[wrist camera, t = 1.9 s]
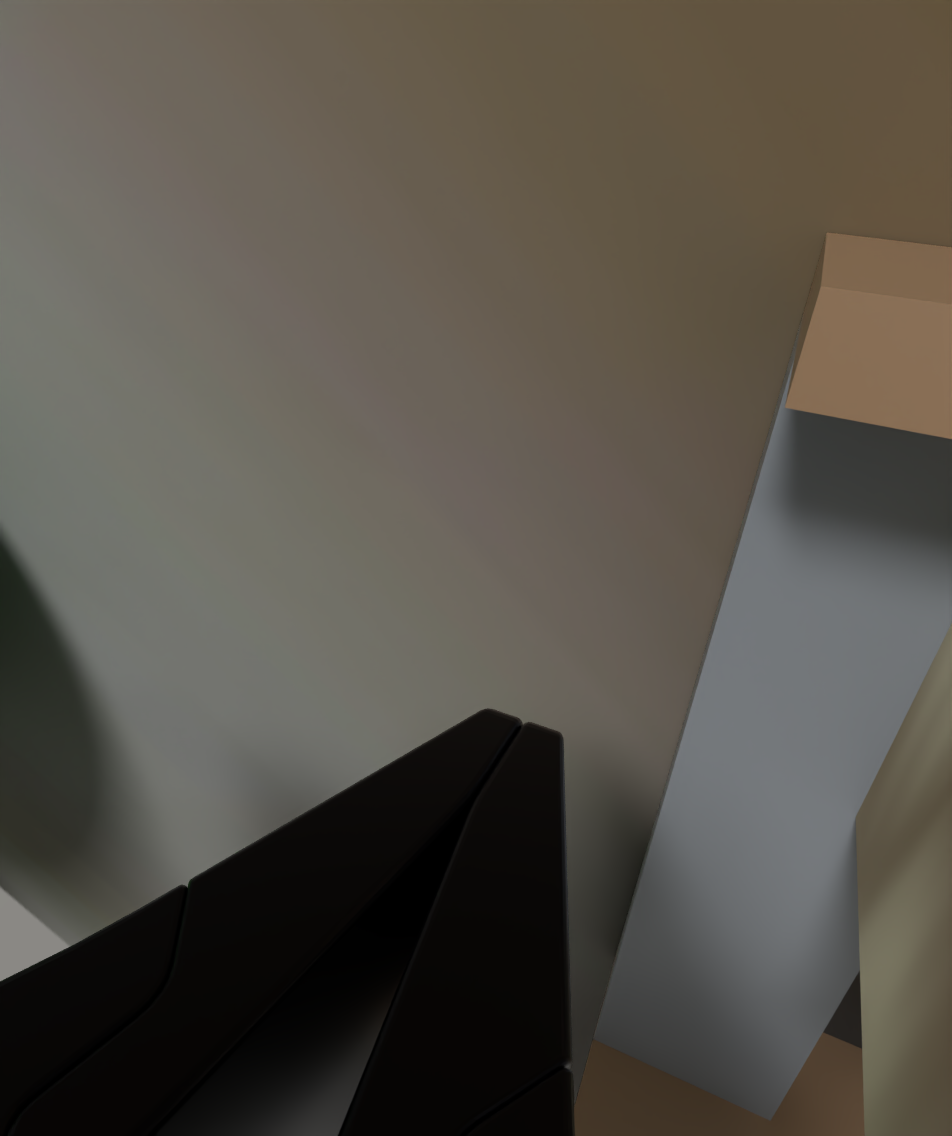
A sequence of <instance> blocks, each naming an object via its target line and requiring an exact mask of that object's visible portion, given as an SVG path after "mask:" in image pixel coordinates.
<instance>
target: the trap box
mask: <svg viewBox="0 0 952 1136" xmlns="http://www.w3.org/2000/svg"><path fill="white" fill-rule="evenodd" d="M951 624H952V247H944V246H936V245H928V244H919V243H911V242H903V241H894V240H886V239H878V238H869V237H861V236H853V235H844V234H836V233H828V232H827V234H826V237H825V241H824V244H823V248H822V251H821V254H820V258H819V261H818V265H817V268H816V271H815V275H814V278H813V282H812V285H811V289H810V292H809V295H808V299H807V302H806V306H805V309H804V313H803V316H802V319H801V323H800V326H799V330H798V333H797V336H796V340H795V343H794V347H793V350H792V354H791V357H790V360H789V364H788V367H787V371H786V374H785V378H784V381H783V384H782V388H781V391H780V395H779V398H778V401H777V405H776V408H775V412H774V415H773V419H772V422H771V425H770V429H769V432H768V436H767V439H766V443H765V446H764V449H763V453H762V456H761V460H760V463H759V467H758V470H757V473H756V477H755V480H754V484H753V487H752V490H751V494H750V497H749V501H748V504H747V508H746V511H745V514H744V518H743V521H742V525H741V528H740V532H739V535H738V538H737V542H736V545H735V549H734V552H733V555H732V559H731V562H730V566H729V569H728V573H727V576H726V579H725V583H724V586H723V590H722V593H721V597H720V600H719V603H718V607H717V610H716V614H715V617H714V620H713V624H712V627H711V631H710V634H709V638H708V641H707V644H706V648H705V651H704V655H703V658H702V662H701V665H700V668H699V672H698V675H697V679H696V682H695V685H694V689H693V692H692V696H691V699H690V703H689V706H688V709H687V713H686V716H685V720H684V723H683V727H682V730H681V733H680V737H679V740H678V744H677V747H676V750H675V754H674V757H673V761H672V764H671V768H670V771H669V774H668V778H667V781H666V785H665V788H664V792H663V795H662V798H661V802H660V805H659V809H658V812H657V816H656V819H655V822H654V826H653V829H652V833H651V836H650V839H649V843H648V846H647V850H646V853H645V857H644V860H643V863H642V867H641V870H640V874H639V877H638V881H637V884H636V887H635V891H634V894H633V898H632V901H631V904H630V908H629V911H628V915H627V918H626V922H625V925H624V928H623V932H622V935H621V939H620V942H619V946H618V949H617V952H616V956H615V959H614V963H613V966H612V970H611V974H610V977H609V981H608V985H607V988H606V992H605V996H604V999H603V1003H602V1007H601V1010H600V1014H599V1018H598V1022H597V1025H596V1029H595V1033H594V1036H593V1040H592V1044H591V1047H590V1051H589V1055H588V1058H587V1062H586V1066H585V1069H584V1073H583V1077H582V1080H581V1084H580V1088H579V1091H578V1095H577V1099H576V1102H575V1106H574V1120H575V1136H865V1130H864V1094H863V1059H862V1024H861V988H860V953H859V918H858V882H857V847H856V815H857V813H858V811H859V809H860V807H861V805H862V803H863V801H864V799H865V797H866V795H867V793H868V791H869V789H870V787H871V785H872V783H873V781H874V779H875V777H876V775H877V773H878V771H879V769H880V767H881V765H882V763H883V761H884V759H885V757H886V755H887V753H888V751H889V749H890V747H891V745H892V743H893V741H894V739H895V737H896V735H897V733H898V731H899V729H900V727H901V725H902V723H903V720H904V718H905V716H906V714H907V712H908V710H909V708H910V706H911V704H912V702H913V700H914V698H915V696H916V694H917V692H918V690H919V688H920V686H921V684H922V682H923V680H924V678H925V676H926V674H927V672H928V670H929V668H930V666H931V664H932V662H933V660H934V658H935V656H936V654H937V652H938V650H939V648H940V646H941V644H942V642H943V640H944V638H945V636H946V634H947V632H948V630H949V628H950V626H951Z"/></svg>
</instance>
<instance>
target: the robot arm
mask: <svg viewBox="0 0 952 1136" xmlns="http://www.w3.org/2000/svg"><path fill="white" fill-rule="evenodd" d="M571 1065H572V1028H571V992H570V956H569V921H568V885H567V849H566V814H565V778H564V743H563V736H562V734H561V733H560V732H558V731H555V730H552V729H549V728H547V727H544V726H541V725H538V724H535V723H532V722H528V723H525V724H523V723H522V721H521V720H520V719H519V718H517V717H514V716H511V715H508V714H505V713H503V712H500V711H497V710H494V709H488V708H487V709H483V710H481V711H479V712H477V713H476V714H474V715H472V716H470V717H469V718H467V719H465V720H464V721H462V722H460V723H458V724H457V725H455V726H453V727H451V728H450V729H448V730H446V731H445V732H443V733H441V734H439V735H438V736H436V737H434V738H433V739H431V740H429V741H427V742H426V743H424V744H422V745H421V746H419V747H417V748H415V749H414V750H412V751H410V752H409V753H407V754H405V755H403V756H402V757H400V758H398V759H396V760H395V761H393V762H391V763H390V764H388V765H386V766H384V767H383V768H381V769H379V770H378V771H376V772H374V773H372V774H371V775H369V776H367V777H366V778H364V779H362V780H360V781H359V782H357V783H355V784H353V785H352V786H350V787H348V788H347V789H345V790H343V791H341V792H340V793H338V794H336V795H335V796H333V797H331V798H329V799H328V800H326V801H324V802H323V803H321V804H319V805H317V806H316V807H314V808H312V809H311V810H309V811H307V812H305V813H304V814H302V815H300V816H298V817H297V818H295V819H293V820H292V821H290V822H288V823H286V824H285V825H283V826H281V827H280V828H278V829H276V830H274V831H273V832H271V833H269V834H268V835H266V836H264V837H262V838H261V839H259V840H257V841H256V842H254V843H252V844H250V845H249V846H247V847H245V848H243V849H242V850H240V851H238V852H237V853H235V854H233V855H231V856H230V857H228V858H226V859H225V860H223V861H221V862H219V863H218V864H216V865H214V866H213V867H211V868H209V869H207V870H206V871H204V872H202V873H201V874H199V875H197V876H195V877H194V878H192V879H191V880H190V881H189V883H188V888H187V887H186V886H185V885H179V886H178V887H176V888H174V889H172V890H171V891H169V892H167V893H165V894H164V895H162V896H160V897H159V898H157V899H155V900H153V901H152V902H150V903H148V904H147V905H145V906H143V907H141V908H140V909H138V910H136V911H134V912H132V913H131V914H129V915H127V916H125V917H123V918H122V919H120V920H118V921H116V922H114V923H112V924H111V925H109V926H107V927H105V928H103V929H102V930H100V931H98V932H96V933H94V934H93V935H91V936H89V937H87V938H85V939H83V940H82V941H80V942H78V943H76V944H74V945H72V946H70V947H68V948H66V949H64V950H63V951H60V952H58V953H57V954H54V955H52V956H50V957H48V958H46V959H44V960H42V961H40V962H39V963H37V964H35V965H32V966H30V967H29V968H26V969H24V970H22V971H20V972H18V973H16V974H14V975H12V976H10V977H8V978H6V979H4V980H3V981H0V1136H575V1120H574V1081H573V1073H572V1071H571V1070H570V1069H571Z"/></svg>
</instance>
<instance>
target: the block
mask: <svg viewBox="0 0 952 1136" xmlns="http://www.w3.org/2000/svg"><path fill="white" fill-rule="evenodd" d="M856 847H857V882H858V918H859V953H860V988H861V1024H862V1059H863V1094H864V1130H865V1136H952V624H951V626H950V628H949V630H948V632H947V634H946V636H945V638H944V640H943V642H942V644H941V646H940V648H939V650H938V652H937V654H936V656H935V658H934V660H933V662H932V664H931V666H930V668H929V670H928V672H927V674H926V676H925V678H924V680H923V682H922V684H921V686H920V688H919V690H918V692H917V694H916V696H915V698H914V700H913V702H912V704H911V706H910V708H909V710H908V712H907V714H906V716H905V718H904V720H903V723H902V725H901V727H900V729H899V731H898V733H897V735H896V737H895V739H894V741H893V743H892V745H891V747H890V749H889V751H888V753H887V755H886V757H885V759H884V761H883V763H882V765H881V767H880V769H879V771H878V773H877V775H876V777H875V779H874V781H873V783H872V785H871V787H870V789H869V791H868V793H867V795H866V797H865V799H864V801H863V803H862V805H861V807H860V809H859V811H858V813H857V815H856Z"/></svg>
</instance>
